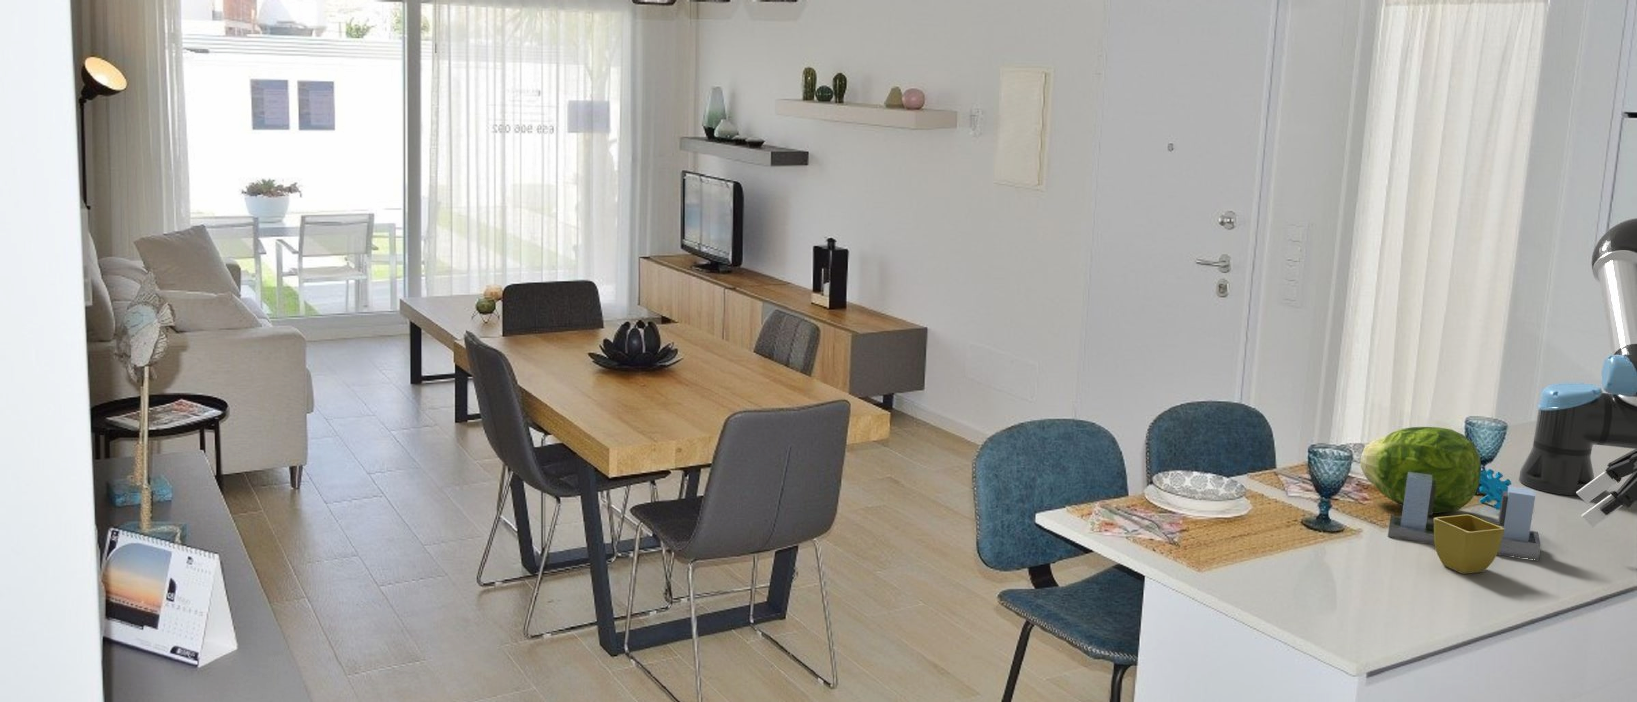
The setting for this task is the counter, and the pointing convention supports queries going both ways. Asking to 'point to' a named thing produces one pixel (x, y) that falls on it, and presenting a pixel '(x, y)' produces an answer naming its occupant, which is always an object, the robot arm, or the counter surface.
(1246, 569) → the counter surface
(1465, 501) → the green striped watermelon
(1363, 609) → the counter surface
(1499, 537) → the flower pot
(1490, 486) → the blue splash shape
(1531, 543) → the grey piece
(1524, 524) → the blue block
